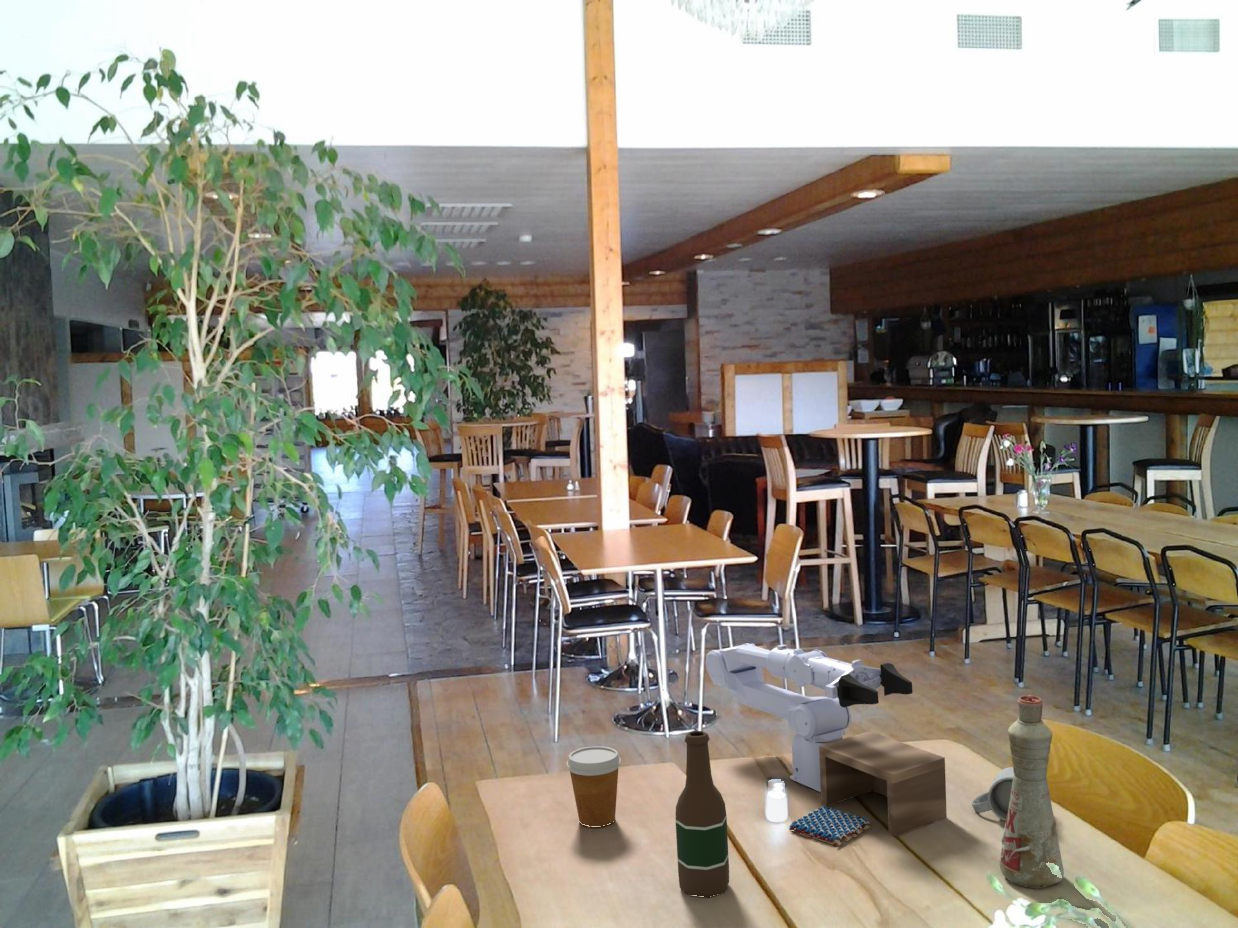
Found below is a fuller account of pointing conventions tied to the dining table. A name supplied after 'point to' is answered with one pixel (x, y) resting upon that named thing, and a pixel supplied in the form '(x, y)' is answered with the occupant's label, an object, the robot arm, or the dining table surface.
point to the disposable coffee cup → (595, 783)
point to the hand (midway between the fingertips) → (893, 692)
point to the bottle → (1030, 803)
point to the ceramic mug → (996, 795)
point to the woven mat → (830, 825)
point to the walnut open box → (885, 778)
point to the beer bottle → (701, 825)
